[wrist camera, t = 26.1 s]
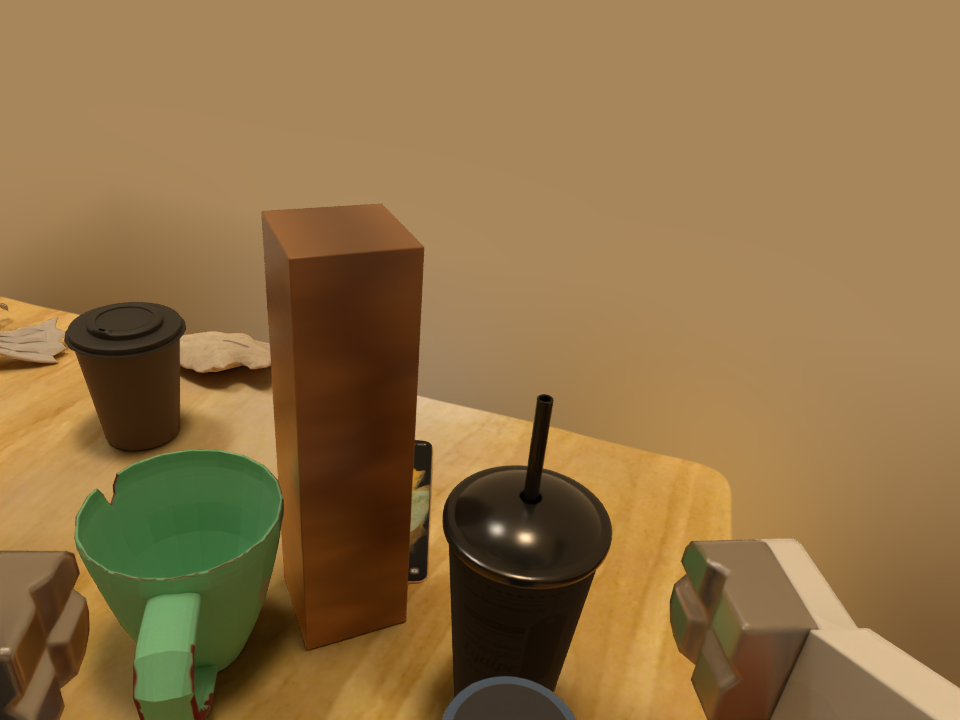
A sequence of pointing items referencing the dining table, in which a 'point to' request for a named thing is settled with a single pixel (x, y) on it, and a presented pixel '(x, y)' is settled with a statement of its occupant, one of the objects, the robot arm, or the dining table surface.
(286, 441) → the stand
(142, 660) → the mug
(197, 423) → the dining table surface
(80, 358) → the coffee cup
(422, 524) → the smartphone
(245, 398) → the dining table surface
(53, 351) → the fairy figurine
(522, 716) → the tumbler
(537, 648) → the drinking cup
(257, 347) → the decorative stone
